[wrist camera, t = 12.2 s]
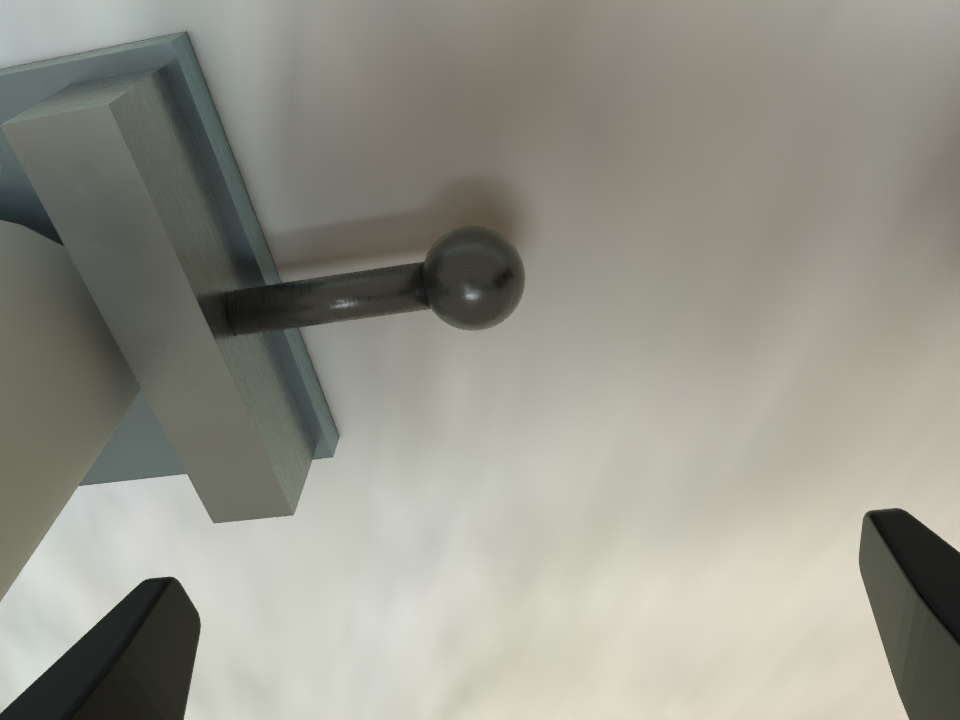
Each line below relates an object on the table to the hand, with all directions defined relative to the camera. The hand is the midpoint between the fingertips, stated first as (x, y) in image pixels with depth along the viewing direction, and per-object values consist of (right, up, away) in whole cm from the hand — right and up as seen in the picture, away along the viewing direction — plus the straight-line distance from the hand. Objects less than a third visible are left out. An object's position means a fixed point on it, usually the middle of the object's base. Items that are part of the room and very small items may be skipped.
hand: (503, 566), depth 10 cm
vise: (-10, +5, +13) cm, 17 cm away
